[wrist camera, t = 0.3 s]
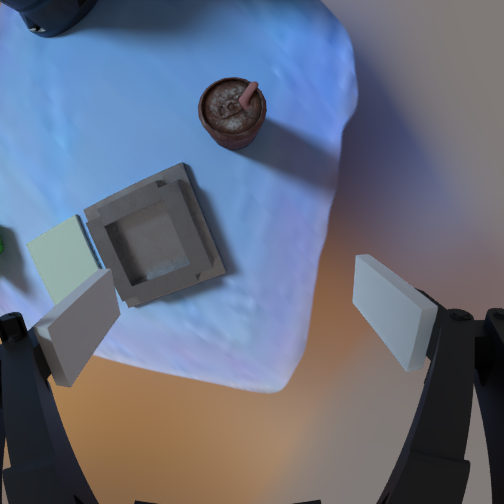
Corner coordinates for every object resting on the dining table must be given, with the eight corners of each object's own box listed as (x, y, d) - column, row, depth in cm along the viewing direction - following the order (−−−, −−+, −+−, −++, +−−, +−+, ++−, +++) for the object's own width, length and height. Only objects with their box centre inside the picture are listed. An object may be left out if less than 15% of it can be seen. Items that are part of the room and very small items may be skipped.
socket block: (86, 208, 39) (75, 212, 35) (183, 162, 38) (178, 162, 34) (130, 305, 43) (123, 315, 40) (226, 270, 42) (225, 279, 39)
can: (267, 119, 37) (282, 94, 23) (241, 158, 38) (242, 152, 25) (228, 96, 36) (223, 60, 22) (202, 135, 37) (183, 117, 24)
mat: (28, 243, 39) (26, 244, 39) (76, 214, 39) (74, 215, 38) (58, 306, 43) (56, 308, 42) (109, 286, 42) (107, 287, 41)
